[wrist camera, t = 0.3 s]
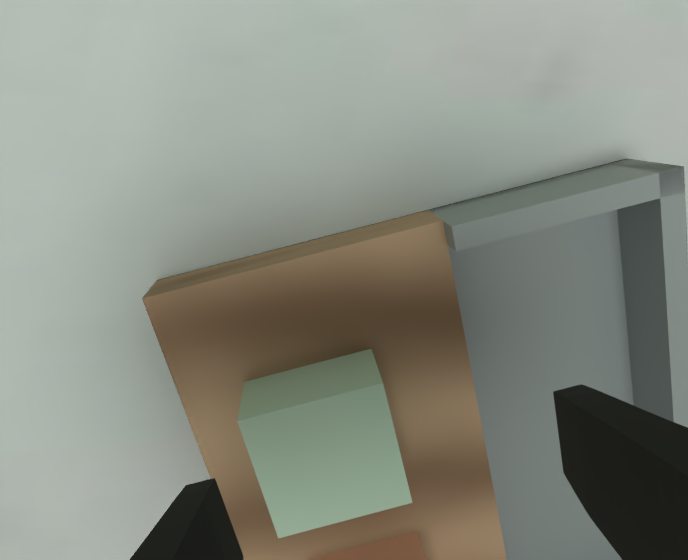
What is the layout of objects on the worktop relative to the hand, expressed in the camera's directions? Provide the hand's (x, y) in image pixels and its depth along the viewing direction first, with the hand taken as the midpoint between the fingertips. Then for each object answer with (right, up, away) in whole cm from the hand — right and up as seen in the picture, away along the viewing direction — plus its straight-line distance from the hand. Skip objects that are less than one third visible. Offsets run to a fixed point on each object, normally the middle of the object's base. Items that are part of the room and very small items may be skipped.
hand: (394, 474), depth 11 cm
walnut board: (0, -4, +11) cm, 12 cm away
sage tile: (-2, -1, +8) cm, 8 cm away
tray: (+8, -2, +11) cm, 14 cm away
